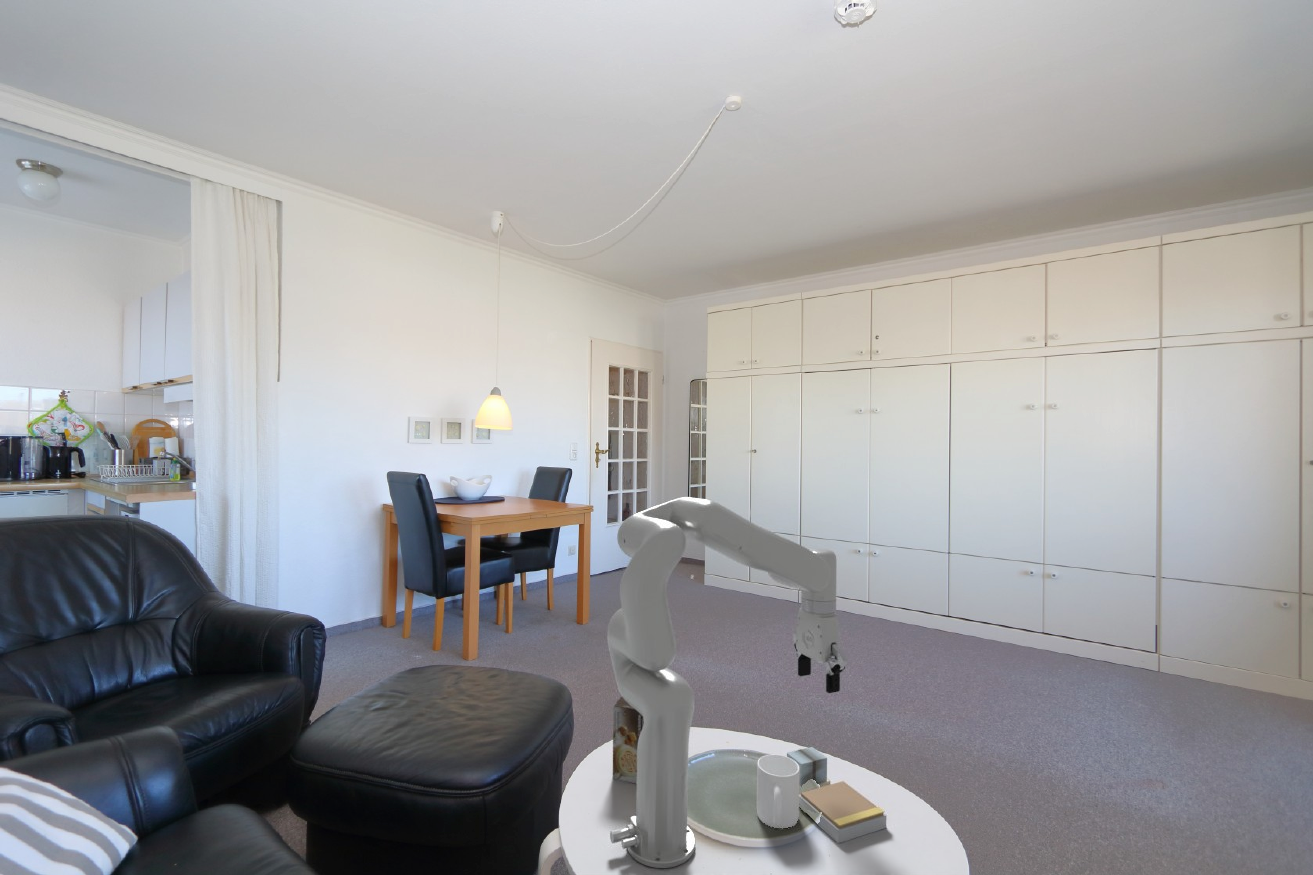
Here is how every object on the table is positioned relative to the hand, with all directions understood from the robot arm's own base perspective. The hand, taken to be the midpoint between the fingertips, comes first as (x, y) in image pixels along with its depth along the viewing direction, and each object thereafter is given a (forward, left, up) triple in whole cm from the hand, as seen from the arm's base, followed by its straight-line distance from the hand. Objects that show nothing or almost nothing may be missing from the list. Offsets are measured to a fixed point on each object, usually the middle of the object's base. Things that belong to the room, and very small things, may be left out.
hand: (818, 683), depth 127 cm
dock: (-3, -11, -22) cm, 25 cm away
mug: (-16, -8, -22) cm, 28 cm away
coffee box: (-36, +18, -22) cm, 46 cm away
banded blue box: (-2, +1, -22) cm, 22 cm away
